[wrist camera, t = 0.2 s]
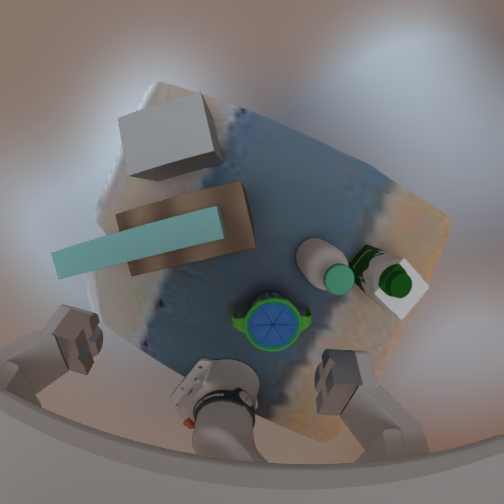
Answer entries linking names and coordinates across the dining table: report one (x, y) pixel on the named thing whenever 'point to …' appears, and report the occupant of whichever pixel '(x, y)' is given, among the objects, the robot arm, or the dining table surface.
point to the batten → (141, 242)
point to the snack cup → (272, 322)
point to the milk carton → (388, 280)
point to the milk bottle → (325, 266)
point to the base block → (170, 139)
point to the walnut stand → (224, 195)
